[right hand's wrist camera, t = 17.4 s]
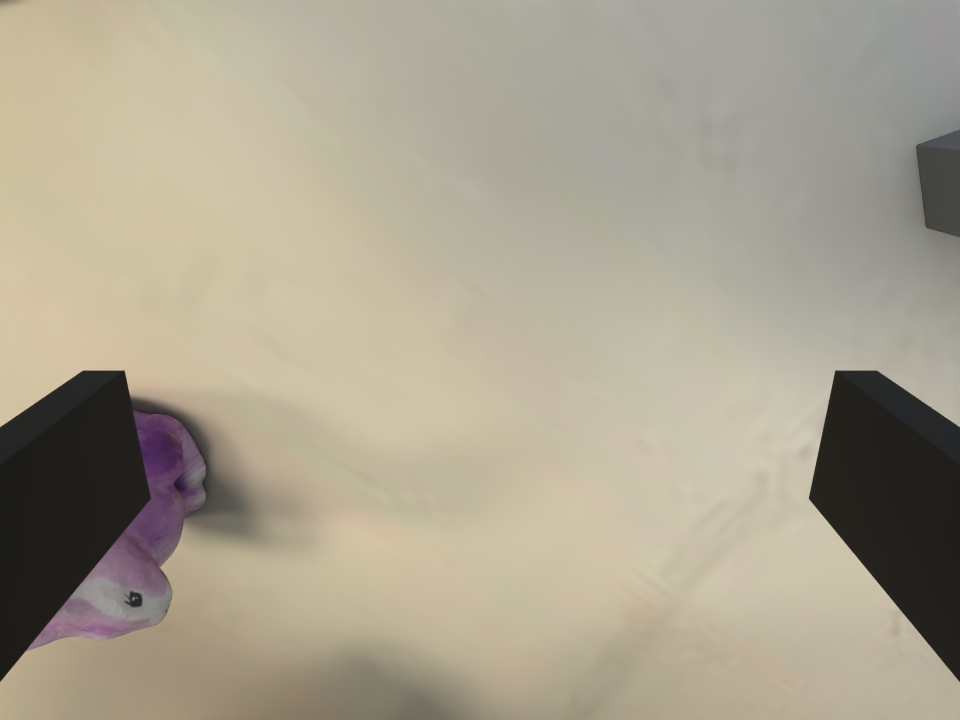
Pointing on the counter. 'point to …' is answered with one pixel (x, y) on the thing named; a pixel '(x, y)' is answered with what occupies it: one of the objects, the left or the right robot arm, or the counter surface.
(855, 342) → the counter surface
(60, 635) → the figurine
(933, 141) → the grey block
